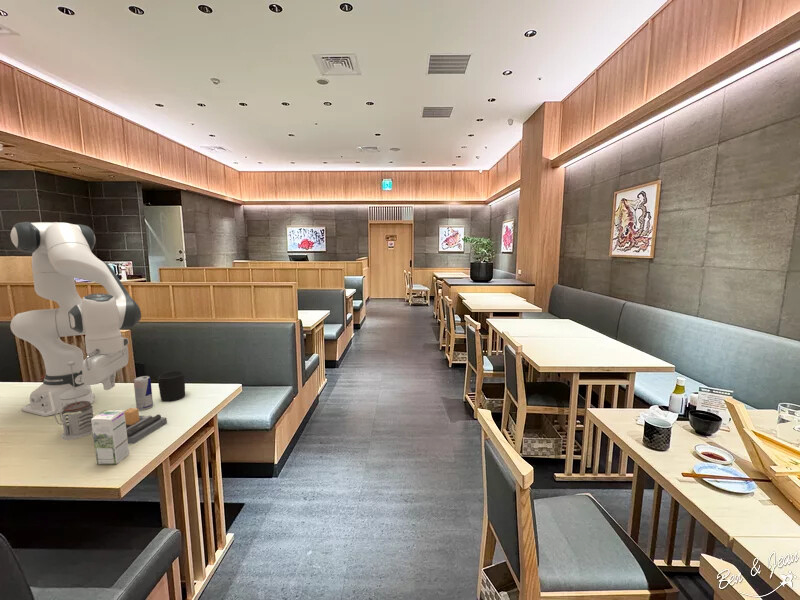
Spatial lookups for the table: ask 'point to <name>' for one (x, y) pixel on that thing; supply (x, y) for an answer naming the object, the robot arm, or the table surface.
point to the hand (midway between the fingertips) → (109, 388)
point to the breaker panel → (146, 430)
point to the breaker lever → (131, 416)
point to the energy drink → (143, 392)
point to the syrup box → (110, 436)
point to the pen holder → (172, 386)
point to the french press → (74, 427)
